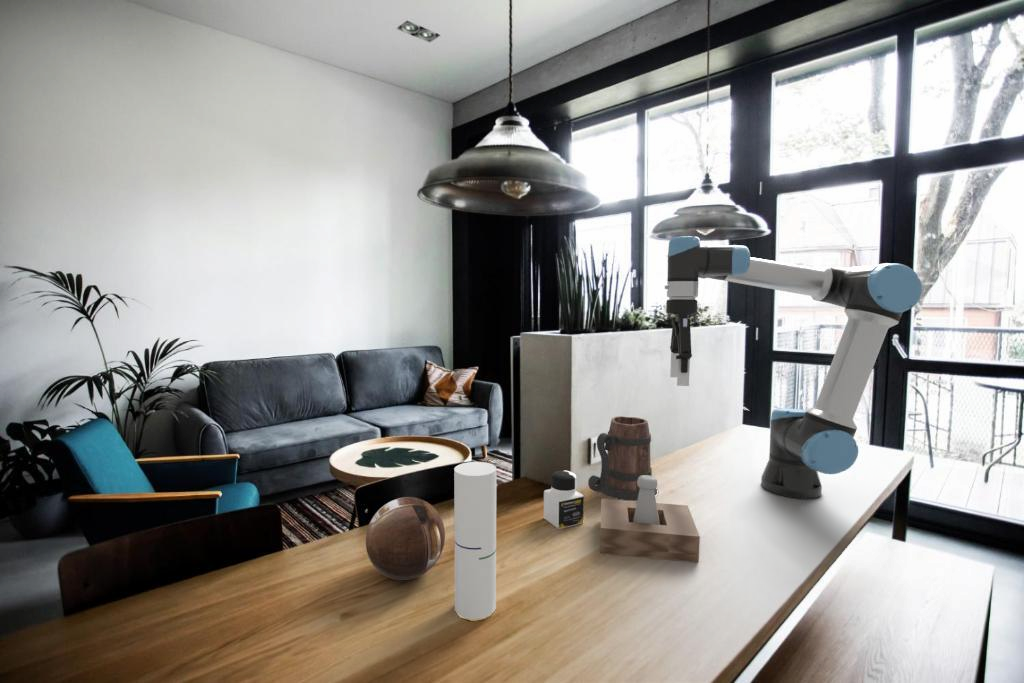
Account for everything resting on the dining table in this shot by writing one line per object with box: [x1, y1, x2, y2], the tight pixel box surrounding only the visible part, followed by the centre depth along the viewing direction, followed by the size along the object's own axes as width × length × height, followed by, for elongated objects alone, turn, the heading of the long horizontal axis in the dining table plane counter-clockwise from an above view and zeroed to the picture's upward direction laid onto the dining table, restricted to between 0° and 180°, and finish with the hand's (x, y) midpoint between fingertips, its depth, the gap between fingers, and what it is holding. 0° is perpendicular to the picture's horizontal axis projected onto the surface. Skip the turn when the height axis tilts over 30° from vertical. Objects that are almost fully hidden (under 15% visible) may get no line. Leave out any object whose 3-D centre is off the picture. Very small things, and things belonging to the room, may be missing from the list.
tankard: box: [587, 415, 658, 501], centre depth 142 cm, size 24×17×20 cm
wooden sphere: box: [365, 496, 446, 581], centre depth 99 cm, size 15×15×15 cm
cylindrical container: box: [453, 461, 497, 620], centre depth 87 cm, size 7×7×25 cm
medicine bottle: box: [543, 469, 585, 530], centre depth 123 cm, size 7×7×12 cm
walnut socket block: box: [599, 498, 701, 563], centre depth 114 cm, size 20×16×6 cm
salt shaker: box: [633, 475, 660, 525], centre depth 113 cm, size 6×6×13 cm
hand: (679, 381), depth 131 cm, fingers open, 13 cm apart
